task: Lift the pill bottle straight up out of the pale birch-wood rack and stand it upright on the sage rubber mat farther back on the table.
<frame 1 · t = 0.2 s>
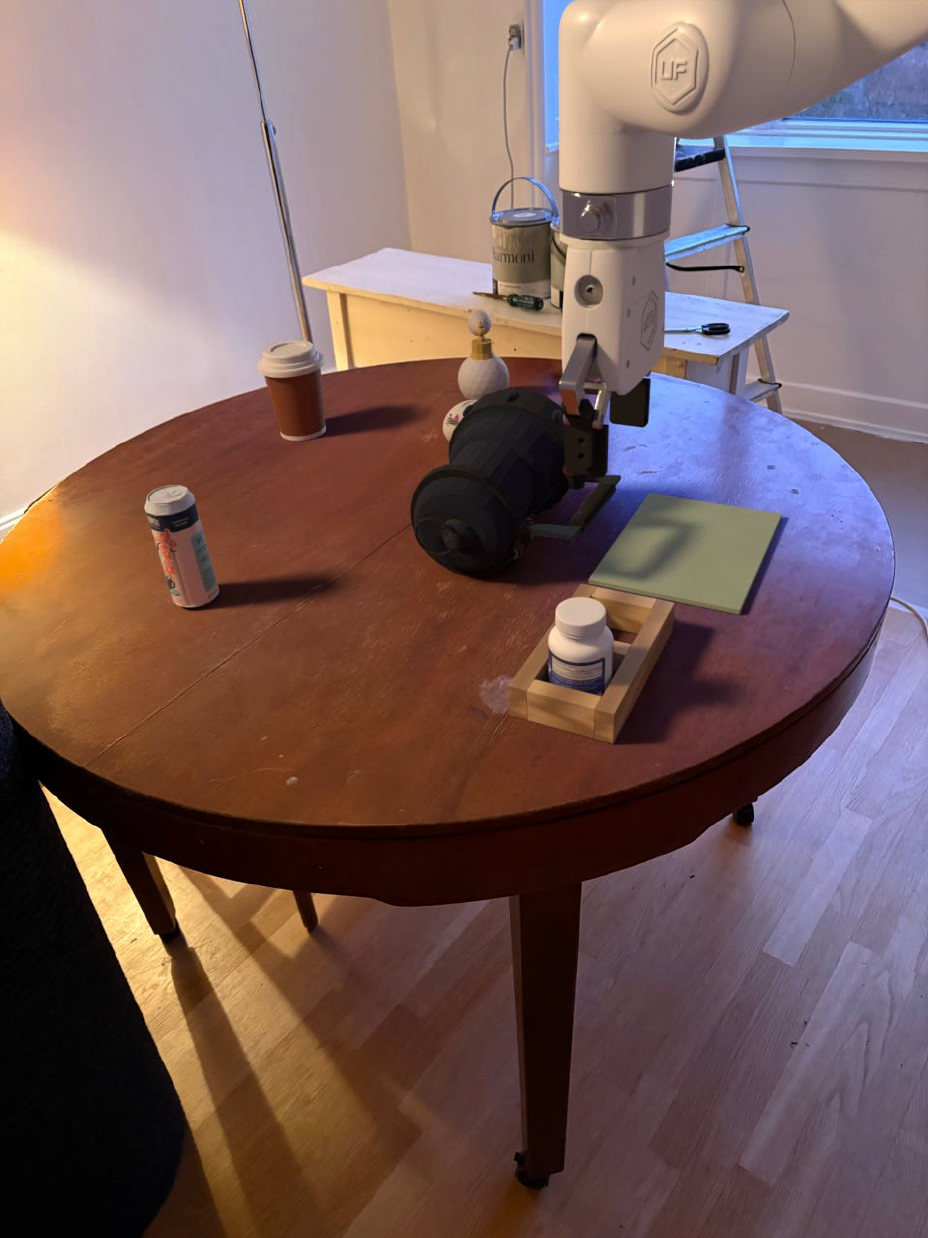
hand: (608, 447, 70), 19 cm above the table, tool pointing down, fingers open, 9 cm apart
beer can: (197, 599, 92), on the table
pill bottle: (580, 698, 75), resting in rack
rack: (595, 671, 78), on the table
coffee cup: (303, 432, 127), on the table
mat: (689, 549, 93), on the table
white rounded ceramic piece: (472, 451, 118), on the table
perfume bottle: (481, 400, 133), on the table
flashlight: (518, 549, 96), on the table
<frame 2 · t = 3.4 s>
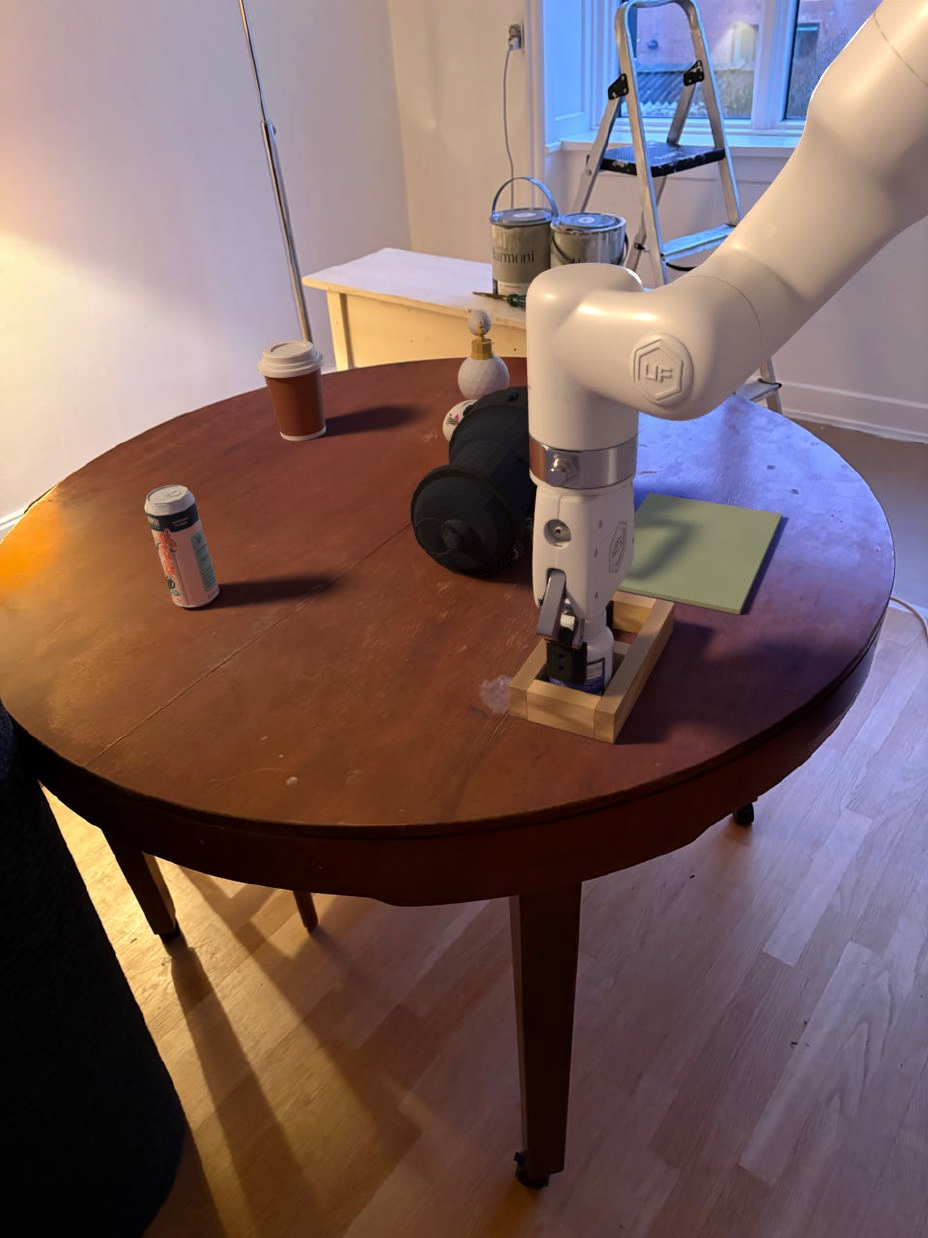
hand: (580, 656, 73), 4 cm above the table, tool pointing down, fingers closed on pill bottle, 5 cm apart
pill bottle: (580, 698, 75), resting in rack, touching gripper
everything else where it was.
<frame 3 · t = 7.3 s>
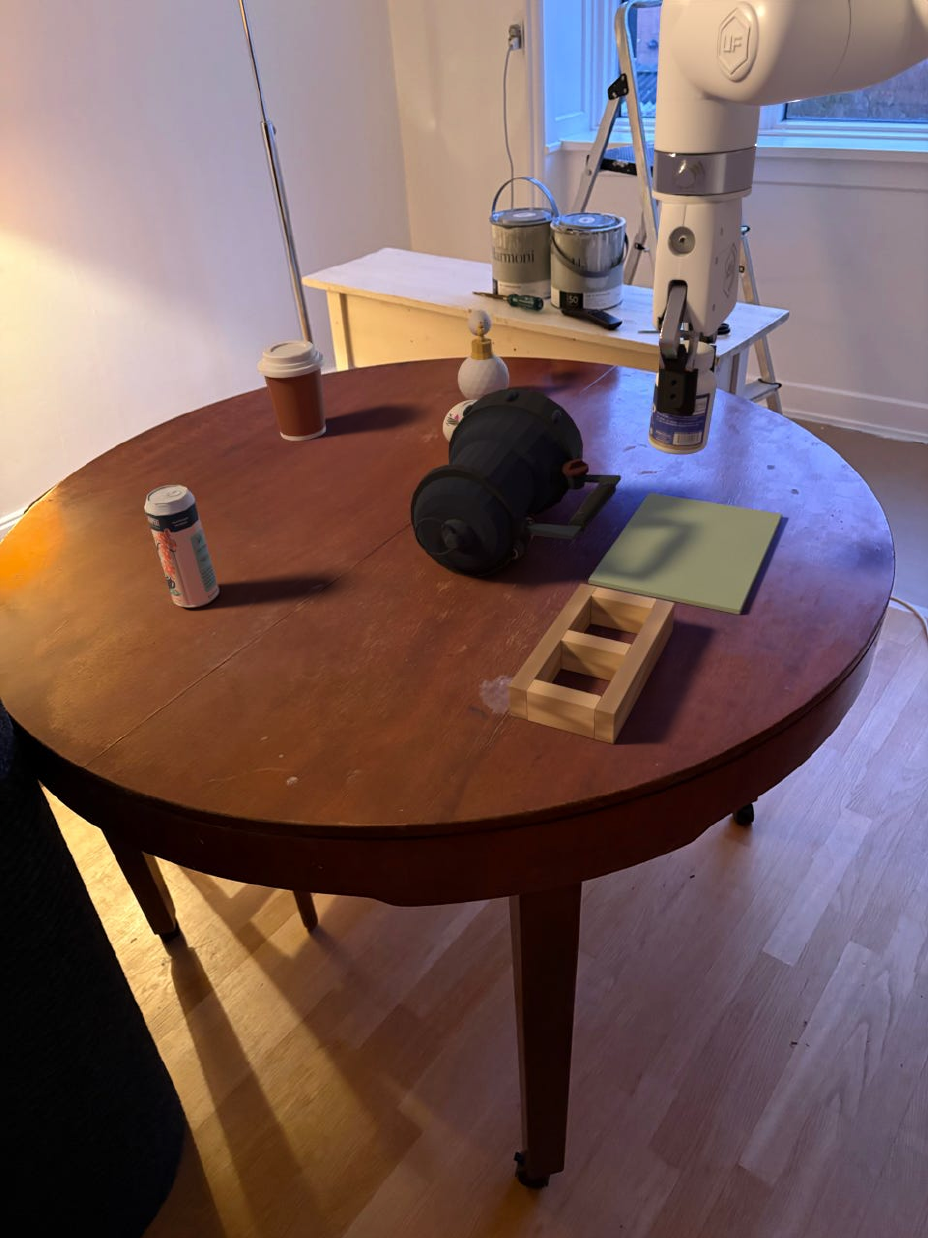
hand: (685, 398, 78), 19 cm above the table, tool pointing down, fingers closed on pill bottle, 5 cm apart
pill bottle: (676, 445, 81), point 14 cm above the table, touching gripper
everything else where it was.
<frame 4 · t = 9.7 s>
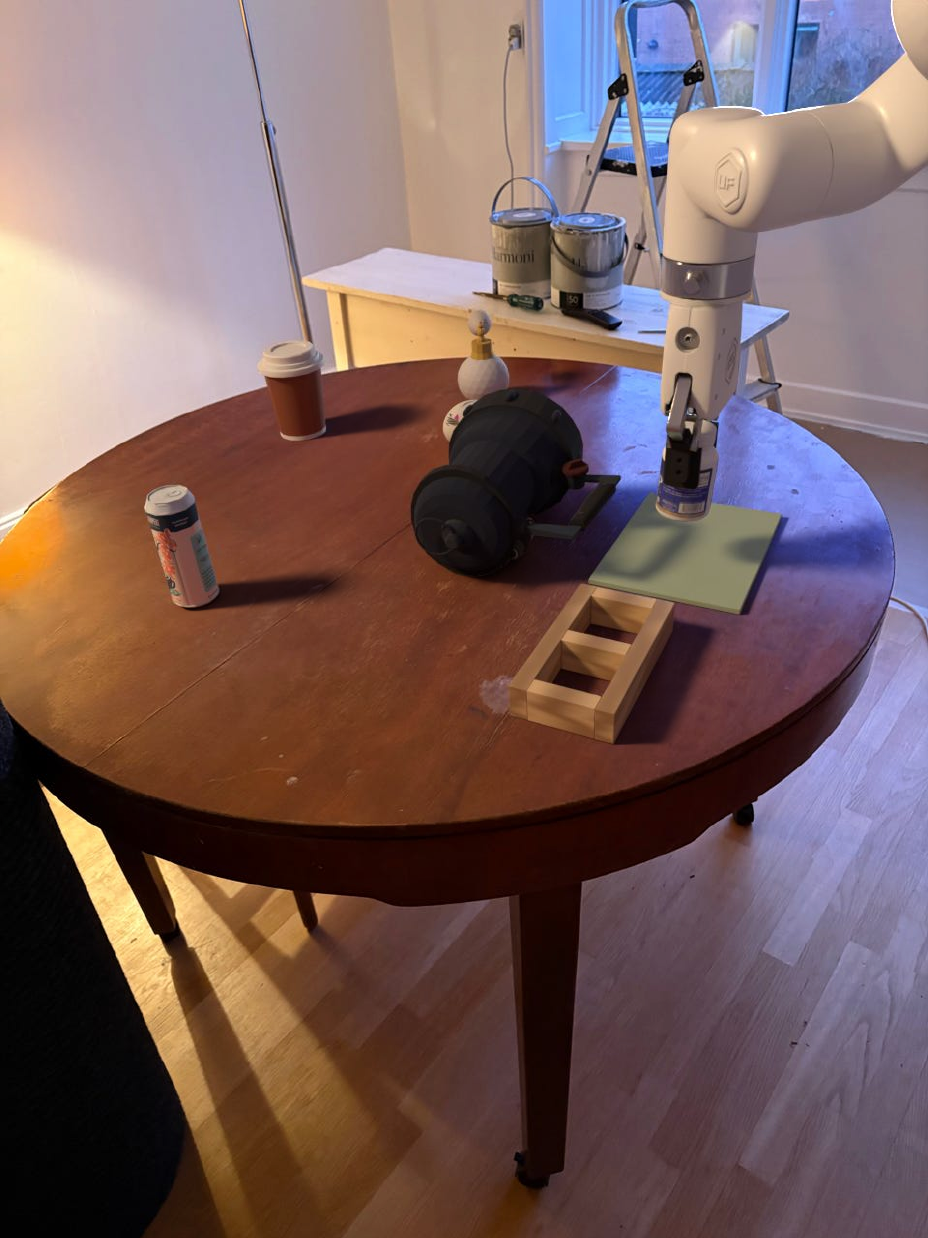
hand: (689, 470, 85), 10 cm above the table, tool pointing down, fingers closed on pill bottle, 5 cm apart
pill bottle: (681, 511, 88), point 6 cm above the table, touching gripper
everything else where it was.
when the fingers open (5 cm above the table, at t = 11.6 s): pill bottle stays where it is, resting on mat.
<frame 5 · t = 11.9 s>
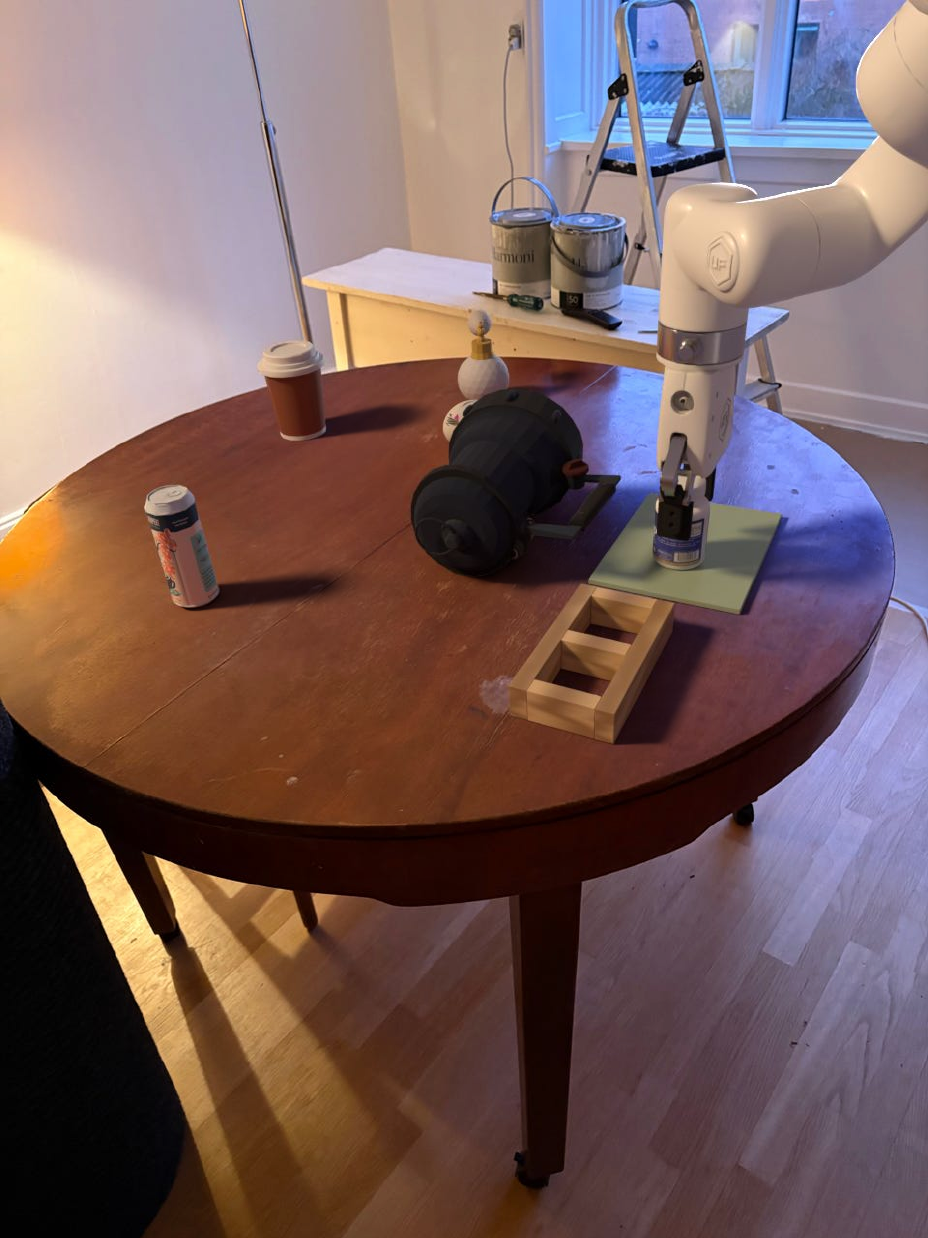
hand: (685, 516, 88), 5 cm above the table, tool pointing down, fingers open, 7 cm apart
pill bottle: (677, 559, 91), resting on mat
everything else where it was.
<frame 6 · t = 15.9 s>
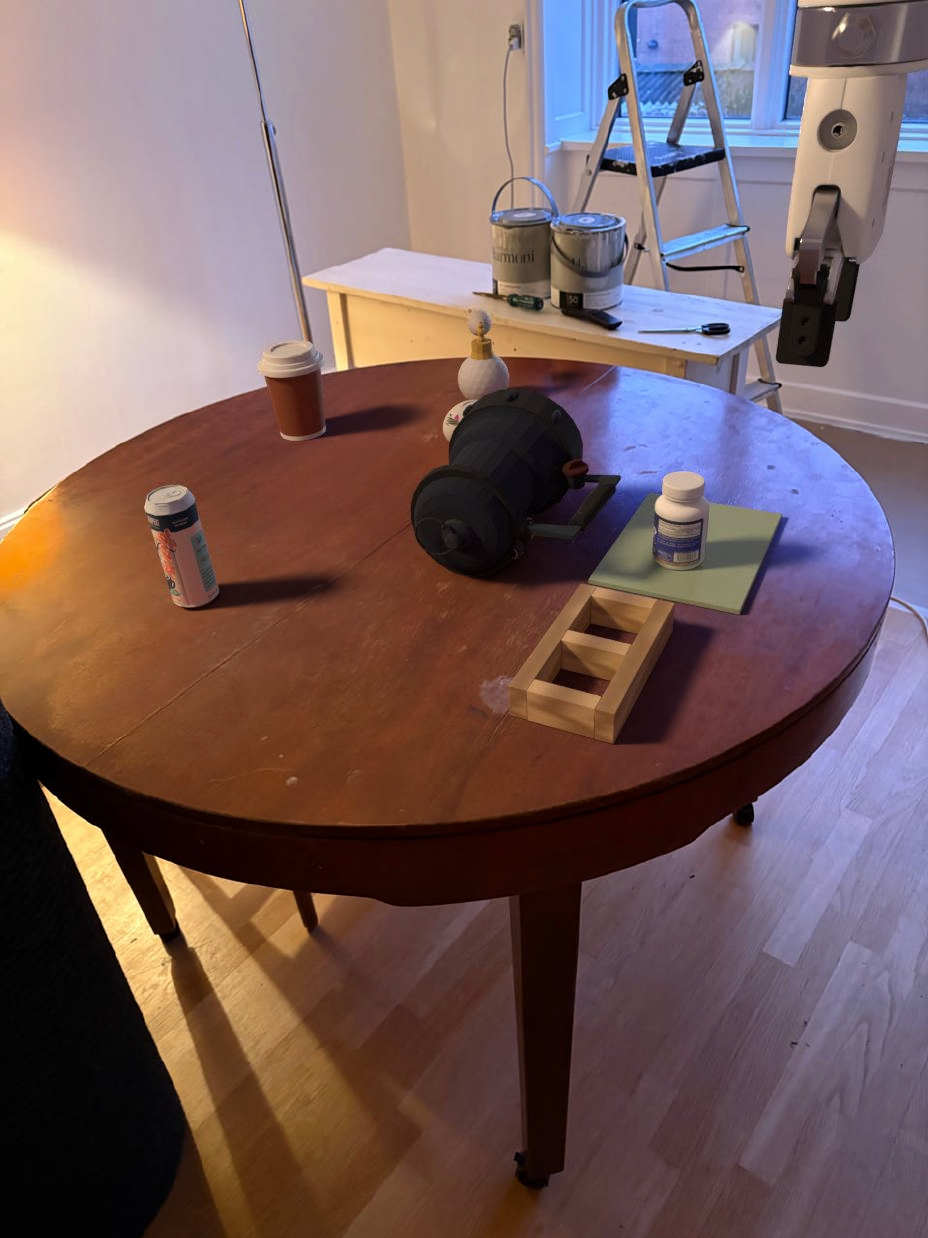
hand: (814, 340, 61), 28 cm above the table, tool pointing down, fingers open, 9 cm apart
nothing on the table moved.
at the end: pill bottle inside the target area on the mat (3.1 cm from its centre), point 0.4 cm above the mat's base; pill bottle tilted 0°; pill bottle touching mat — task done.
